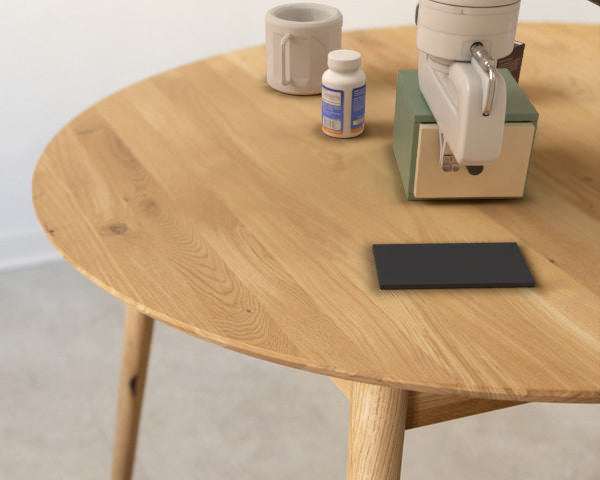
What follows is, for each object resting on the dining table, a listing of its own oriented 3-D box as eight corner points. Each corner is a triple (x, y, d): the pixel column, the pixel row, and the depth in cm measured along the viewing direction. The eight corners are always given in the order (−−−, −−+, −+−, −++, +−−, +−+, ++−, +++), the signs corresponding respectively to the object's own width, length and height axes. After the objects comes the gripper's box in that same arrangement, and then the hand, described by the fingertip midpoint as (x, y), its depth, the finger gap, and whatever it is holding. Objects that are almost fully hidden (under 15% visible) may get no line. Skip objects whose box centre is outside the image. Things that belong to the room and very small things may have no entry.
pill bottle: (358, 120, 102) (361, 45, 96) (368, 137, 97) (372, 60, 92) (317, 123, 101) (318, 48, 95) (325, 140, 96) (327, 62, 91)
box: (455, 93, 109) (461, 40, 105) (482, 83, 113) (490, 32, 108) (490, 105, 106) (498, 51, 101) (517, 95, 109) (526, 42, 105)
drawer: (525, 202, 81) (538, 131, 77) (416, 203, 81) (423, 133, 77) (495, 147, 93) (505, 83, 88) (400, 148, 92) (404, 84, 88)
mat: (515, 246, 76) (516, 241, 76) (534, 286, 70) (535, 282, 70) (372, 248, 76) (372, 244, 76) (379, 289, 70) (380, 284, 70)
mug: (283, 66, 119) (282, -2, 113) (350, 75, 116) (353, 5, 110) (246, 97, 108) (243, 24, 103) (319, 108, 105) (320, 32, 99)
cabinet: (523, 198, 84) (539, 113, 78) (407, 200, 84) (414, 115, 78) (495, 145, 95) (507, 68, 90) (392, 147, 95) (397, 69, 89)
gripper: (535, 65, 62) (507, 217, 70) (474, -1, 79) (457, 128, 87) (456, 66, 62) (438, 219, 70) (412, 0, 79) (401, 129, 87)
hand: (448, 168), depth 79 cm, fingers closed
